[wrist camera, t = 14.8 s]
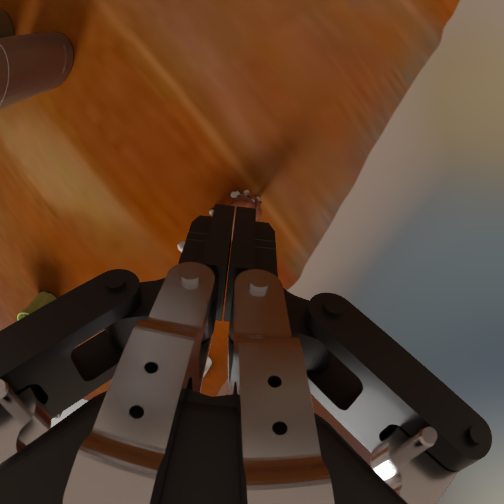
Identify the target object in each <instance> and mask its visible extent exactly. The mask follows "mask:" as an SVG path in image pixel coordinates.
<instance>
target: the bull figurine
mask: <svg viewBox="0 0 504 504" xmlns="http://www.w3.org/2000/svg"><path fill="white" fill-rule="evenodd" d="M230 196H231V198H237V199H236V201H234V202H233V203H232V204H231V205H230V206H235V210H234V220H233V229H232V238H233V230H234V222H235V215H236V207H237V206H240V207H248V208H256V221H257V220H258V218H259V217H260V216H261V213H262V210H261V208H260V204H261V203H262V202H261V201H260V198H259V197H258V196H257V197H255V196H253V195H251V193H250V192H249V191H248V190H245V191H244V193H243V194H240V193H239V192H238V191H236V192H234V191H233V192H231V193H230ZM248 197H251V198H252V200H251V199H250V198H248ZM213 212H214V210H213V209H211V210H209V214H210V215H211V216H210V217H212V216H213ZM231 241H232V239H231ZM184 244H185V242H183V241H181V242H179V244H178V245H177V246H178V250H180V251H181V252H182V250H183V247H184Z"/></svg>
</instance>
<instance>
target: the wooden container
mask: <svg viewBox="0 0 504 504" xmlns="http://www.w3.org/2000/svg"><path fill="white" fill-rule="evenodd" d="M9 36H14V30H13V25H12V22H11V20H10V18H9V16H8V15H7V14H6V13H5V12H4V11H2V10H0V38H3V37H9Z"/></svg>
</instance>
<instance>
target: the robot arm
mask: <svg viewBox="0 0 504 504" xmlns="http://www.w3.org/2000/svg"><path fill="white" fill-rule="evenodd" d="M72 64H73V48H72V45H71V43H70V41H69V39H68V38H67V37H66V36H65V35H63V34H62V33H59V32H45V33H33V34H24V35H16V36H9V37H3V38H0V110H1V109H3V108H5V107H7V106H10V105H12V104H14V103H17V102H19V101H22V100H24V99H27V98H29V97H32V96H34V95H37V94H40V93H43V92H45V91H48V90H51V89H53V88H56V87H57V86H59V85H60V84H61V83H62V82H63V81H64V80H65V79H66V78H67V76H68V75H69V72H70V70H71V68H72ZM234 210H235V206H230V205H221V204H215V208H214V212H213V216H212V217H210V216H199V217H198V218H196V219H195V220H194V221H193V222H192V223H191V226H190V229H189V233H188V235H187V239H186V241H185V244H184V247H183V250H182V254H181V257H180V260H179V263H178V265H176V266H174V267H172V268H171V269H170V270H169V272H168V273H167V276H166V278H163V279H160V280H156V281H149V282H140V283H139V279H138V277H137V276H136V275H135V274H134V273H132V272H130V271H128V270H123V269H115V270H110V271H107V272H105V273H103V274H101V275H99V276H97V277H95V278H93V279H92V280H90V281H88V282H86V283H84V284H82V285H80V286H79V287H77V288H75V289H73V290H71V291H69V292H68V293H66V294H64V295H62V296H60V297H59V298H57V299H55V300H53V301H52V302H50V303H48V304H46V305H44V306H43V307H41V308H39V309H37V310H36V311H34V312H32V313H30V314H29V315H27V316H25V317H24V318H22V319H20V320H18V321H17V322H15V323H13V324H12V325H10V326H8V327H7V328H5V329H3V330H2V331H0V504H437V502H438V501H439V499H440V498H441V497H442V495H443V494H444V492H445V491H446V489H447V488H448V486H449V485H450V484H451V482H452V480H453V479H454V477H455V476H456V474H457V473H458V472H459V471H460V470H462V469H464V468H466V467H467V466H469V465H471V464H473V463H474V462H476V461H477V460H479V459H481V458H482V457H484V456H485V455H486V454H487V453H488V451H489V450H490V447H491V443H492V435H491V430H490V428H489V426H488V424H487V423H486V421H485V420H484V419H483V418H482V417H481V416H480V415H478V414H477V413H476V412H475V411H474V410H473V409H472V408H471V407H470V406H469V405H467V404H466V403H465V402H464V401H463V400H462V399H461V398H459V396H457V395H456V394H455V393H454V392H453V391H452V390H451V389H449V388H448V387H447V386H446V385H445V384H444V383H443V382H442V381H440V380H439V379H438V378H437V377H436V376H435V375H434V374H432V373H431V372H430V371H429V370H428V369H427V368H426V367H425V366H423V365H422V364H421V363H420V362H419V361H418V360H417V359H415V358H414V357H413V356H412V355H411V354H410V353H408V352H407V351H406V350H405V349H404V348H403V347H402V346H400V345H399V344H398V343H397V342H396V341H394V340H393V339H392V338H391V337H390V336H389V335H388V334H386V333H385V332H384V331H383V330H382V329H381V328H379V327H378V326H377V325H376V324H375V323H373V322H372V321H371V320H370V319H369V318H368V317H366V316H365V315H364V314H363V313H362V312H360V311H359V310H358V309H357V308H356V307H354V306H353V305H352V304H351V303H350V302H349V301H347V300H346V299H345V298H343V297H341V296H339V295H336V294H333V293H320V294H317V295H315V296H314V297H312V299H311V300H310V301H309V300H306V299H303V298H299V297H297V296H294V295H293V294H291V293H289V292H288V291H286V290H285V289H284V288H283V286H282V283H281V281H280V280H279V278H278V273H277V258H276V243H275V231H274V230H273V228H272V227H271V226H270V224H269V223H264V222H256V208H248V207H240V206H237V207H236V215H235V222H234V230H233V238H232V229H233V220H234ZM231 239H232V246H231ZM230 248H231V254H230ZM229 257H230V262H229ZM228 265H229V271H228ZM227 273H228V282H227V292H226V302H225V313H224V321H229V322H230V324H229V335H228V395H225V396H217V397H211V396H207V395H204V394H201V393H200V390H201V384H202V379H203V375H204V371H205V366H206V362H207V357H208V353H209V349H210V344H211V340H212V334H213V332H214V327H215V320H219V321H222V314H223V306H224V297H225V289H226V281H227ZM103 329H105V330H104V331H103V332H101V333H99V334H98V335H96V336H95V337H93V338H91V339H90V340H88V341H87V342H85V343H83V344H82V345H80V346H78V345H79V344H81V343H82V342H84V341H86V340H87V339H89V338H90V337H92V336H94V335H95V334H97V333H98V332H100V331H102V330H103ZM76 346H78V347H77V348H75V347H76ZM74 348H75V349H74ZM73 349H74V350H73ZM110 379H112V380H111V383H110V385H109V388H108V390H107V391H106V392H103V393H101V394H99V395H97V396H95V397H94V398H92V399H91V400H89V401H88V402H87V403H85V404H84V405H82V406H81V407H80V408H78V409H77V410H76V411H74V412H73V413H71V414H70V415H69V416H67V417H66V418H65V419H63V420H62V421H60V422H59V423H58V424H56V425H55V426H53V427H52V428H51V429H50V427H51V419H52V418H53V417H55V416H56V415H58V414H59V413H61V412H62V411H64V410H65V409H67V408H68V407H70V406H71V405H73V404H74V403H76V402H77V401H79V400H80V399H82V398H83V397H85V396H86V395H88V394H89V393H91V392H92V391H94V390H95V389H97V388H98V387H100V386H101V385H103V384H104V383H106V382H107V381H109V380H110ZM310 393H311V394H312V395H313V396H314V397H315V398H316V399H317V400H318V401H319V402H320V403H321V404H322V405H323V406H324V407H325V408H326V409H327V410H328V411H329V412H330V413H331V414H332V415H333V416H334V417H335V418H336V419H337V420H338V421H339V422H340V423H341V424H342V425H343V426H344V427H345V428H346V429H347V430H348V431H349V432H350V433H351V434H352V435H353V436H354V437H355V438H356V439H358V441H359V442H360V443H362V444H363V445H364V446H365V447H366V448H367V449H368V450H369V451H370V452H371V453H372V454H371V467H370V466H369V465H368V464H367V463H366V462H365V461H364V460H363V458H362V457H361V456H359V454H357V452H356V451H355V450H354V449H353V448H352V447H351V446H350V445H349V444H348V443H347V442H346V441H345V440H344V439H343V438H342V437H341V435H339V433H338V432H337V431H336V430H335V429H334V428H333V427H332V426H331V425H330V424H329V423H328V422H326V421H325V420H324V419H323V418H322V417H320V416H318V415H317V414H315V413H314V411H313V405H312V400H311V394H310Z"/></svg>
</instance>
